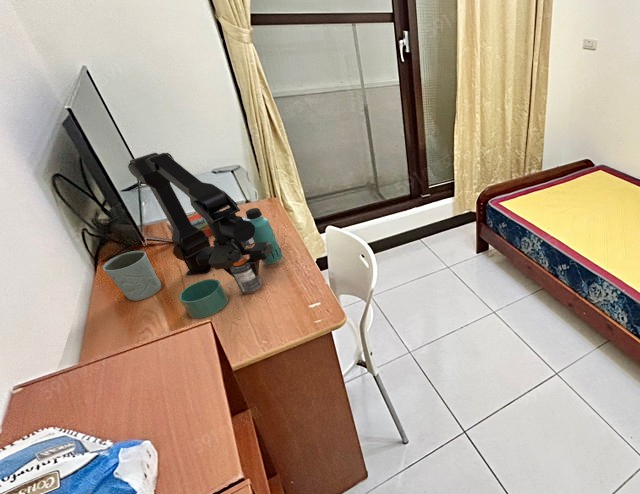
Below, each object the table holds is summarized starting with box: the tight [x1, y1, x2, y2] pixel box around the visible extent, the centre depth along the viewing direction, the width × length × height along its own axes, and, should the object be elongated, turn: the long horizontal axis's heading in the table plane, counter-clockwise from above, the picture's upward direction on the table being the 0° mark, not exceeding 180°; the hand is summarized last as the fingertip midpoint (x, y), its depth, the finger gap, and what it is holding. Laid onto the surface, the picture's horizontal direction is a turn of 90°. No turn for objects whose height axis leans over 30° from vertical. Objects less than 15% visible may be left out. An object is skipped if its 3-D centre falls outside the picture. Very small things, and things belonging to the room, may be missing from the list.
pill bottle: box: [230, 255, 263, 294], centre depth 119 cm, size 6×6×11 cm
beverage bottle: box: [245, 207, 283, 265], centre depth 129 cm, size 6×7×20 cm
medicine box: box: [165, 210, 213, 237], centre depth 150 cm, size 15×8×8 cm, turn 142°
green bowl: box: [178, 278, 229, 319], centre depth 115 cm, size 10×10×6 cm
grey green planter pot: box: [102, 250, 162, 302], centre depth 121 cm, size 10×10×12 cm
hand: (246, 276), depth 120 cm, fingers closed on pill bottle, 6 cm apart
